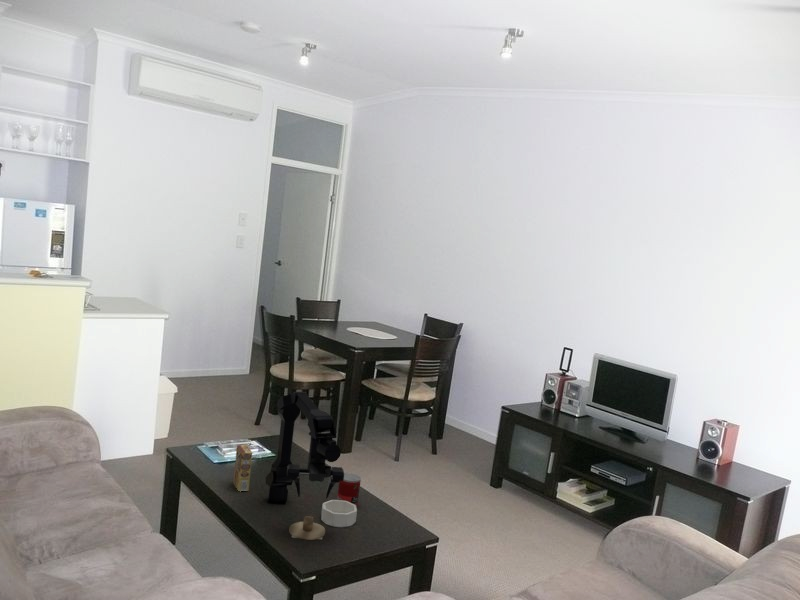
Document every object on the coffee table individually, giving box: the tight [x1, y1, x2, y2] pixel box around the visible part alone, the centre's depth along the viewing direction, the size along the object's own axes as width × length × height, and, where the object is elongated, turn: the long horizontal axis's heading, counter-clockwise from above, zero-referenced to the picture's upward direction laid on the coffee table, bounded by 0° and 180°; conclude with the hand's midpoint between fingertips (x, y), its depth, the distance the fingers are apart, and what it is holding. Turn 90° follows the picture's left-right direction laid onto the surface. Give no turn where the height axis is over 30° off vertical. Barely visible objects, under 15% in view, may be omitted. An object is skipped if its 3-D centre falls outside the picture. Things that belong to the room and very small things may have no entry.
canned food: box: [336, 472, 362, 508], centre depth 254 cm, size 8×8×11 cm
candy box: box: [233, 444, 253, 493], centre depth 258 cm, size 9×4×15 cm, turn 27°
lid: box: [288, 515, 326, 541], centre depth 228 cm, size 12×12×5 cm
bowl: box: [320, 499, 358, 528], centre depth 240 cm, size 12×12×5 cm
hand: (312, 497), depth 227 cm, fingers open, 9 cm apart
